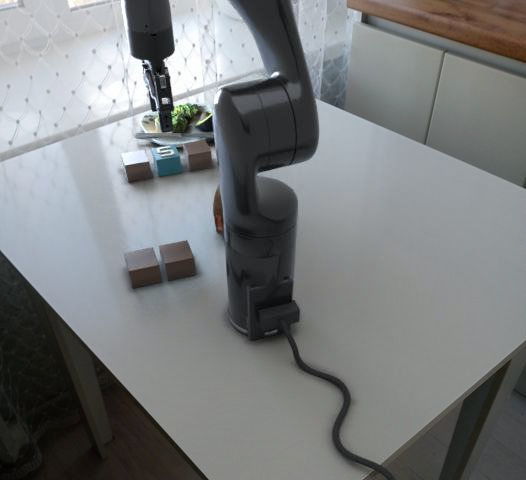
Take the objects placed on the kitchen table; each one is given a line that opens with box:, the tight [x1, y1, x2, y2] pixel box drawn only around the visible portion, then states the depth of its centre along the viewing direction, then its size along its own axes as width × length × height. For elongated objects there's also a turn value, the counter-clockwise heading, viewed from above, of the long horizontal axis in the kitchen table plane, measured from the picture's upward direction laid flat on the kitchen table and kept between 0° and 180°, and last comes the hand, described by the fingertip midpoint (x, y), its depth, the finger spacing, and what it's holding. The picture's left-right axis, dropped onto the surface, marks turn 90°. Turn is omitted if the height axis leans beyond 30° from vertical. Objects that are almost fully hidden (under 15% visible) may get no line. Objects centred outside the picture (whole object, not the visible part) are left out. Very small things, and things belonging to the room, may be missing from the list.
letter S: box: [151, 145, 183, 177], centre depth 107 cm, size 5×5×4 cm
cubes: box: [120, 140, 213, 183], centre depth 107 cm, size 5×17×4 cm, turn 109°
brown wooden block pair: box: [123, 239, 197, 289], centre depth 86 cm, size 5×10×4 cm, turn 109°
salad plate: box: [134, 101, 215, 148], centre depth 116 cm, size 19×18×5 cm
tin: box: [212, 184, 224, 236], centre depth 94 cm, size 15×3×8 cm, turn 168°
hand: (162, 120), depth 101 cm, fingers open, 8 cm apart
